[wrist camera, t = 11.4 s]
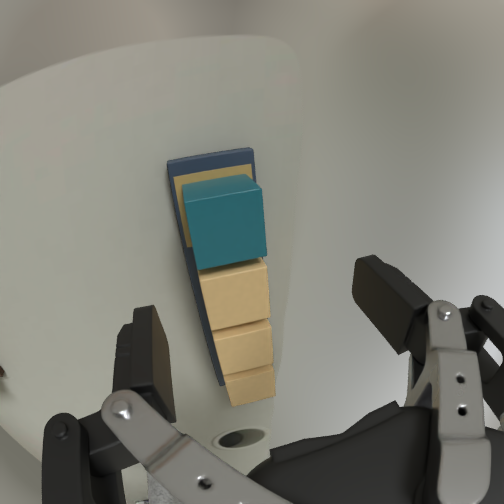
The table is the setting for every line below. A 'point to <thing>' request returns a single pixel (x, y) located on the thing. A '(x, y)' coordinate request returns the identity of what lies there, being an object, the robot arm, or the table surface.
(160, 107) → the table surface
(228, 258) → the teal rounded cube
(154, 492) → the decorative stone
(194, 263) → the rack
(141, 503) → the ink box
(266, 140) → the table surface
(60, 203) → the table surface
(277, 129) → the table surface
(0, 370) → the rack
